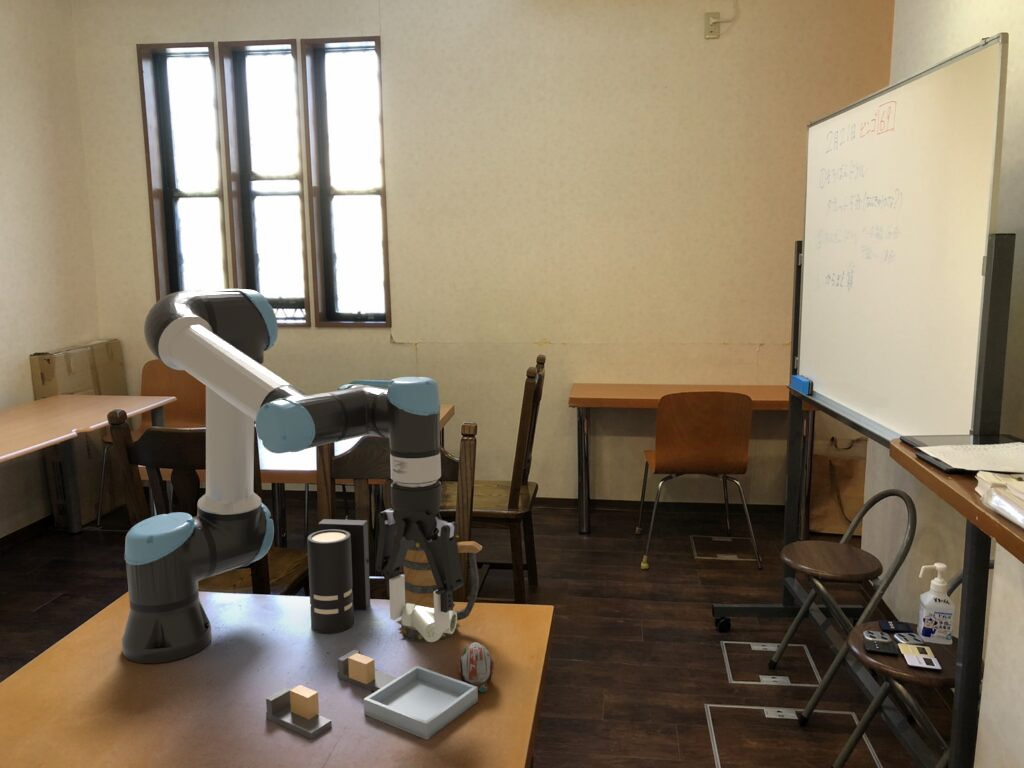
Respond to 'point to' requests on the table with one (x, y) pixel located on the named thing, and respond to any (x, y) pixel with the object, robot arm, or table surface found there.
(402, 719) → the parts tray
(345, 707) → the table surface
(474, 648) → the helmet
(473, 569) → the mug
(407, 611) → the pipe fitting
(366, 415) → the robot arm
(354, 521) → the light fixture
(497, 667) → the table surface
